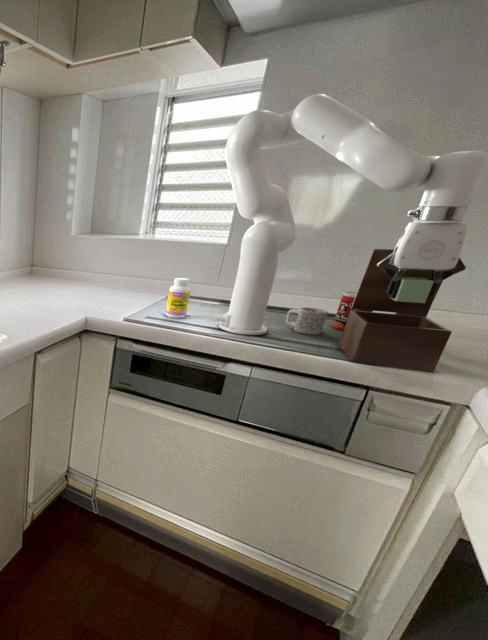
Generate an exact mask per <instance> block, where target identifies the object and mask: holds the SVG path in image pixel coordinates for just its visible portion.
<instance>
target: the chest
mask: <svg viewBox="0 0 488 640" xmlns="http://www.w3.org/2000/svg"><path fill="white" fill-rule="evenodd" d="M452 332H453V331H452V330H451V329H449V328H447V327H445V326H443V325H441V324H440V323H437V322H436V321H434V320H432V319H430V318H429V317H428V316H427V317H423V316H412V315H400V314H396V313H389V312H377V311H373V312H365V311H353V310H351V311H350V314H349V317H348V319H347V322H346V325H345V328H344V331H342V334H341V337H340V340H339V342H338V347H339V348H340V349H341V350H342V351H343V353H344V354H345V355H346V356H347V357H348V359H349V360H350V361H351V363H357V364H365V365H373V366H374V365H375V366H382V367H388V368H395V369H396V368H397V369H404V370H411V371H420V372H421V371H422V372H427V373H434V372H435V369H436V368H437V365H438V363H439V361H440V359H441V358H442V354H443V352H444V350H445V349H446V345H447V343H448V341H449V339H450V337H451V335H452Z"/></svg>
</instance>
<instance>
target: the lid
mask: <svg viewBox="0 0 488 640" xmlns="http://www.w3.org/2000/svg"><path fill="white" fill-rule="evenodd" d="M394 249H395V248H373V249H372V252H371V255H370V257H369V259H368V262H367V265H366V267H365V269H364V273H363V276H362V278H361V281H360V283H359V285H358V289H357V291H356V292H357V294H356V296H355V299H354V301H353V304H352V307H351V309H358V310H370V311H373V312H381V313H393V314H396V313H406V314H418V315H427V316H428V314H429V312H430V310H431V307H432V306H433V303H434V301H435V299H436V297H437V295H438V293H439V290H440V288H441V286H442V284H443V282H444V280H443V281H442V282H441V283H438V284H437V287H436V289H435V292H434V294H433V296H432V297H429V300H428V301H426V302H425V303H414V302H400V301H395V300H393V299H391V298H389V297H388V296H387V295H388V294H386V291H387V288H388V285H389V283H390V280H391V279H389V277H388V276H387V275H386V274H385V273H384V271H383V270H381V269H380V268H379V267H378V266H377V263H379V262H380V261H382V260H383V259H385V258H386V257H387V256H389V255H390V254H392V253H393V251H394ZM388 266H389V267H390V268H391V269H392V270H393V271H394V269H395V268H396V266H393V265H391V264H390V263H389V264H388ZM443 271H446V270H442V272H443ZM402 277H414V278H426V279H430V270H421V269H407V270H406V272H405V273H404V274H403V275H402ZM429 309H430V310H429ZM428 311H429V312H428ZM427 313H428V314H427Z"/></svg>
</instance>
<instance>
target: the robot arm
mask: <svg viewBox="0 0 488 640" xmlns="http://www.w3.org/2000/svg"><path fill="white" fill-rule="evenodd" d="M306 141H309V142H312V143H313V144H315V145H317V146H318V147H319V148H321V149H323V150H324V151H325V152H327V153H328V154H330V155H331V156H333V157H334V158H335V159H337V160H338V161H339V162H342V163H343V164H346V165H347V166H348V167H350V168H351V169H352V170H353V171H356V172H357V173H358V174H360V175H361V176H363V177H365V178H366V179H367V180H369V181H371V182H372V183H374V185H377V186H378V187H379V188H381V189H384V190H386V191H389V192H395V193H408V192H415V191H422V190H423V194H422V197H421V198H420V199H421V200H420V202H419V205H418V207H416V208H415V209H412V210H411V209H409V210H408V212H407V214H406V217H407V218H408V217H411V218H412V220H413V221H412V222H408V224H407V225H406V227H405V228H404V230H403V231H402V233H401V235H400V237H399V239H398V241H397V243H396V245H395V246H394V248H393V249H394V251H393V253H392V254H390V255H389V256H387V257H386V258H385V259H383V260H382V261H380V262H379V263H377V266H378V267H379V268H380V269H381V270H383V271H384V273H385V274H386V275H387V276H388V277H389V279H391V280H390V283H389V285H388V288H387V291H386V294H388V295H387V296H388V297H390V298H395V297H396V295H397V292H398V290H399V287H400V284H401V281H400V278H401V277H402V275H403V274H404V273H405V272H406V270H407V269H421V270H430V279H429V280H432V281H434V282H433V285H432V287H431V290H430V292H429V295H428V297H427V299H426V301H428V300H429V297H432V296H433V294H434V292H435V289H436V287H437V284H438V283H441V282H442V281H443V282H444V280H446V279H448V278H450V277H452V276H453V275H456V274H459V273H461V272H463V271H465V270H467V267H466V265H465V264H464V262H463V260H462V259H461V257H460V256H461V253H462V250H463V247H464V243H465V239H466V235H467V230H468V222H463V221H464V219H465V216H466V214H467V212H468V209H469V206H470V205H471V202H472V200H473V197H474V194H475V192H476V190H477V187H478V185H479V183H480V180H481V178H482V176H483V172H484V171H485V169H486V166H487V163H488V152H486V151H483V150H466V151H465V150H464V151H453V152H447V153H444V154H442V155H423V154H421V153H418V152H416V151H415V150H412V149H411V148H410V147H408V146H406V145H405V144H402V143H401V142H399V141H397V140H395V139H394V138H392V137H391V136H389V135H388V134H386V133H384V132H383V131H382V130H381V129H380V128H379V127H378V126H377V124H376V123H375V122H373V121H372V120H371V119H369V118H367V117H366V116H364V115H362V114H360V113H358V112H356V111H355V110H353V109H352V108H350V107H348V106H347V105H345V104H343V103H342V102H340V101H339V100H337V99H336V98H335V97H334V98H333V97H331V96H329V95H328V94H325V93H314V94H311V95H308V96H307V97H305V98H303V99H302V100H301V101H300V102H299V103H298V104H297V105H296V106H295V108H294V109H291V110H289V111H286V112H281V113H277V112H276V111H275V112H274V111H272V110H269V109H255V110H252V111H250V112H248V113H246V114H245V115H243V117H241V118H240V119H239V120H238V121H237V123H236V124H235V125H234V127H233V128H232V130H231V131H230V133H229V135H228V138H227V140H226V144H225V150H224V151H225V162H226V167H227V170H228V174H229V178H230V182H231V186H232V187H231V188H232V191H233V196H234V199H235V203H236V208H237V212H238V213H239V215H240V216H241V217H242V218H243V219H247V220H253V223H254V224H253V225H251V226H250V227H249V228H248V229H247V230H246V232H245V233H244V234H243V237H242V239H241V244H240V254H239V255H240V256H239V263H238V268H237V271H236V272H237V273H236V275H235V276H236V277H235V281H234V285H233V291H232V295H231V299H230V304H229V307H228V311H226V313H222V314H218V313H211V314H210V318H209V319H210V320H213V321H214V322H220V323H219V328H220V329H221V330H223V331H226V332H228V333H232V334H238V335H245V336H246V335H247V336H262V335H264V334H266V333H267V332H268V328H267V327H266V326H264V325H263V323H264V320H265V315H266V311H267V307H268V305H269V300H270V297H271V294H272V289H273V286H274V282H275V278H276V273H277V270H278V262H279V255H280V254H281V253H284V252H285V251H287V250H288V249H290V248H291V247H292V245H293V244H294V243H295V241H296V237H297V228H296V224H295V223H296V222H295V219H294V215H293V211H292V208H291V203H290V200H289V197H288V194H287V192H286V191H285V189H284V188H283V187H281V186H280V185H278V184H274V183H271V180H270V177H269V174H268V169H267V164H266V161H265V160H264V159H265V158H264V157H263V154H262V152H261V149H262V150H269V149H270V150H271V149H277V148H281V147H284V146H289V145H294V144H297V143H301V142H306ZM389 263H390V264H391V265H393V266H396V268H395V269H394V271H393V270H392V269H391V268H390V267H389V266H388V264H389ZM442 270H446V271H443V272H442ZM443 282H442V283H443Z"/></svg>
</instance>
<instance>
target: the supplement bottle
mask: <svg viewBox="0 0 488 640" xmlns="http://www.w3.org/2000/svg"><path fill="white" fill-rule="evenodd" d="M190 280H191V279H190V278H186V277H175V278H174V280H173V283H174V284H173V285H171V286H170V287H169V290H168V296H167V301H166V307H165V316H167V317H169V318H174V319H175V318H176V319H182V318H186V316H187V312H188V306H189V302H190V297H191V291H192V289H191V287H189V284H190Z"/></svg>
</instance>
